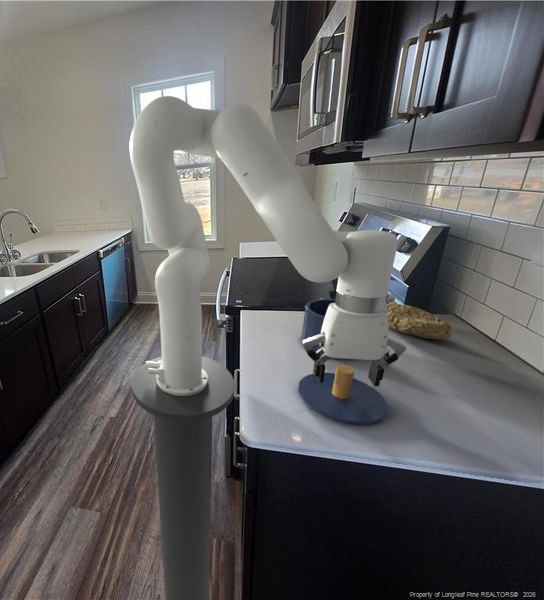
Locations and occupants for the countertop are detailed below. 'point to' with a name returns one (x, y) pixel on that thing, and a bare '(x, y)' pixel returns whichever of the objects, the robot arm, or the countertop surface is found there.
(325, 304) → the pot
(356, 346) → the robot arm
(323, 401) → the lid
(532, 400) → the countertop surface
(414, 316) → the sponge
